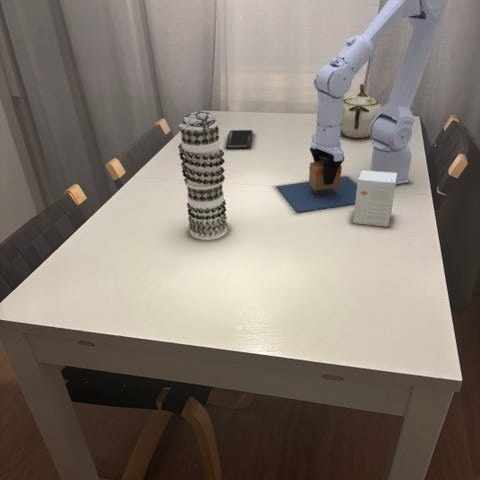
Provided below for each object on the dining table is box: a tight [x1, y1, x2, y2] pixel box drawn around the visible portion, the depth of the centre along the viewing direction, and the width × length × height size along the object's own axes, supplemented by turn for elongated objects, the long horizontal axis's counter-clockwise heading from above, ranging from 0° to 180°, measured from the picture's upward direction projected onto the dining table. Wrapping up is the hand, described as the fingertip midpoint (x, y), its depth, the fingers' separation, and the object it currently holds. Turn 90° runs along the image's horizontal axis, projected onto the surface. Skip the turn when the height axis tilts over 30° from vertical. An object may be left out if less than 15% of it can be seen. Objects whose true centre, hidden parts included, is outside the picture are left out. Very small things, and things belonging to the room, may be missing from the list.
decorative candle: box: [177, 111, 228, 241], centre depth 100 cm, size 9×9×25 cm
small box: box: [352, 169, 397, 228], centre depth 105 cm, size 8×6×10 cm
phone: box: [225, 129, 254, 150], centre depth 154 cm, size 8×1×15 cm
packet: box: [308, 161, 343, 190], centre depth 117 cm, size 7×5×6 cm
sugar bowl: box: [341, 83, 383, 139], centre depth 151 cm, size 20×15×15 cm
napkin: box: [276, 175, 357, 214], centre depth 120 cm, size 20×16×1 cm
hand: (324, 180), depth 118 cm, fingers closed on packet, 4 cm apart
